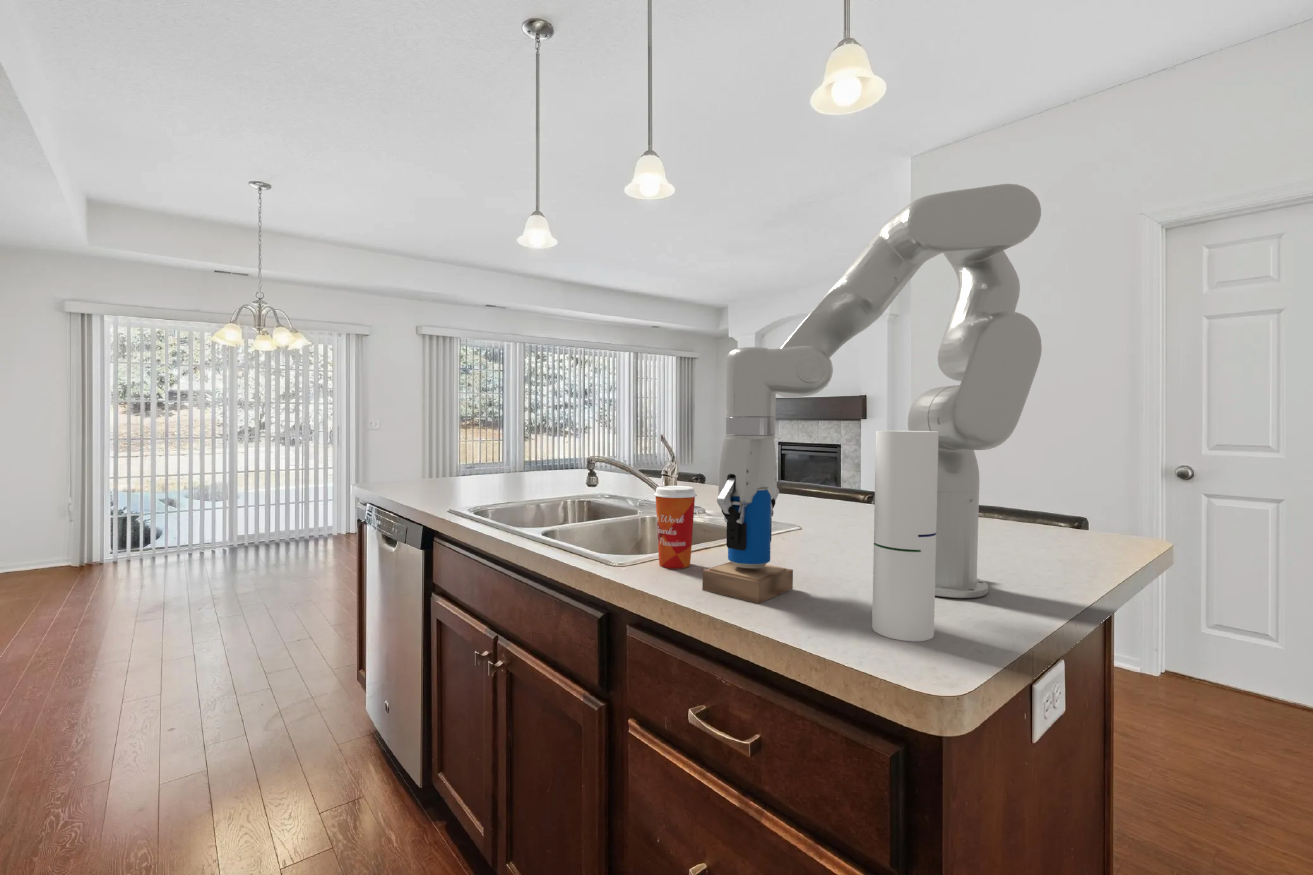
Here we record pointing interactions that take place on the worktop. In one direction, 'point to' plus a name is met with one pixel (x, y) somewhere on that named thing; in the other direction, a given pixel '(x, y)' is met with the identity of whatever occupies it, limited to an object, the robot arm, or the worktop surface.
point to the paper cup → (675, 525)
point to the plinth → (748, 581)
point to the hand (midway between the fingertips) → (749, 544)
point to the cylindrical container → (905, 534)
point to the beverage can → (755, 533)
